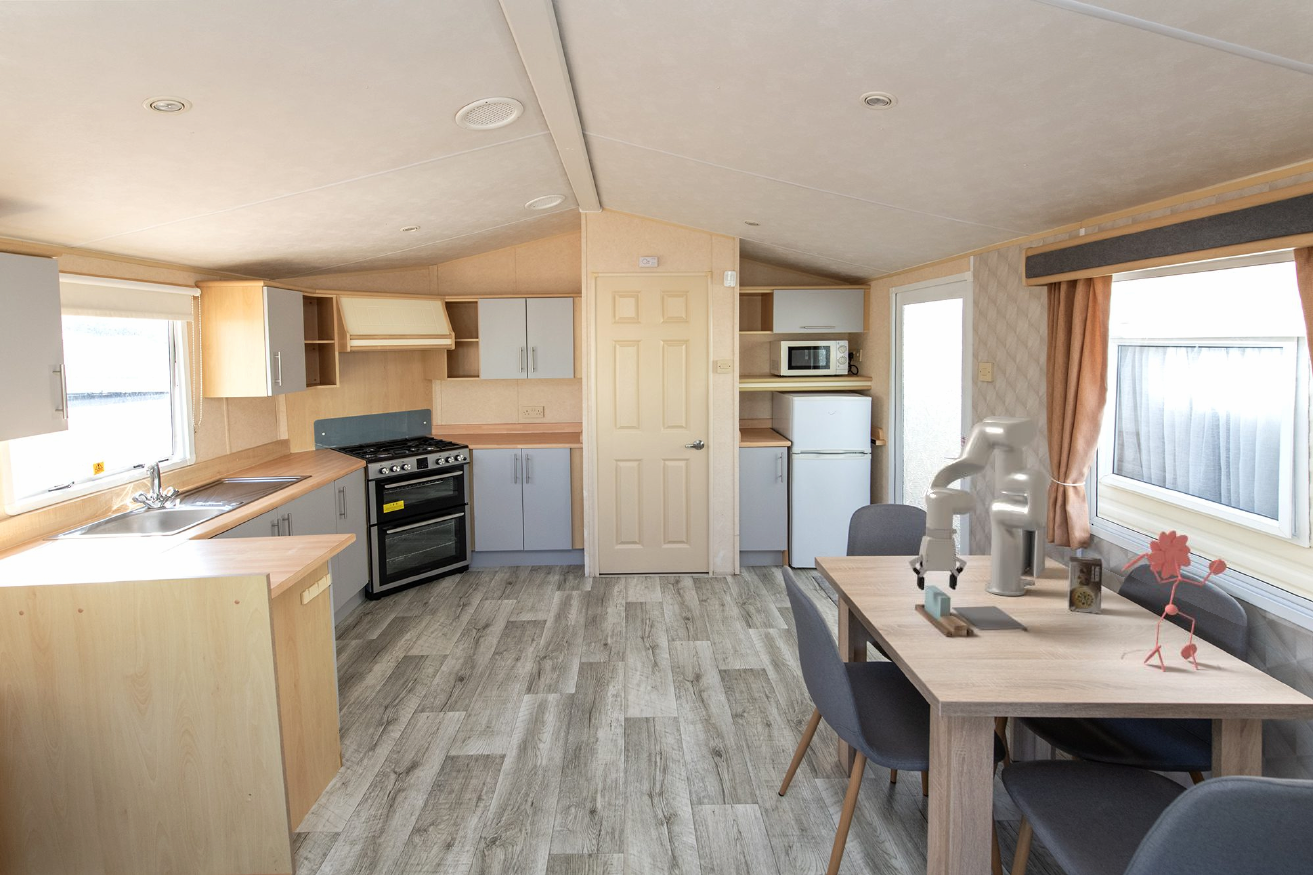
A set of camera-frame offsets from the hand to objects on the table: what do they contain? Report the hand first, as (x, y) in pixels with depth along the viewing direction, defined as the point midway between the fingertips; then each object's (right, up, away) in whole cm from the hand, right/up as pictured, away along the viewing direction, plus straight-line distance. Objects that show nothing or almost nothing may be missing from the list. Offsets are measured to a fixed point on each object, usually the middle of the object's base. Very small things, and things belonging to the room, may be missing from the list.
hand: (936, 588), depth 248 cm
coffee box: (+49, -9, +9) cm, 51 cm away
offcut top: (+1, -9, -11) cm, 14 cm away
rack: (+1, -10, -2) cm, 11 cm away
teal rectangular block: (+1, -10, +2) cm, 10 cm away
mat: (+16, -10, 0) cm, 18 cm away
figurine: (+49, -13, -32) cm, 59 cm away
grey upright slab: (+52, -4, +50) cm, 72 cm away
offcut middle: (+1, -10, -10) cm, 15 cm away
